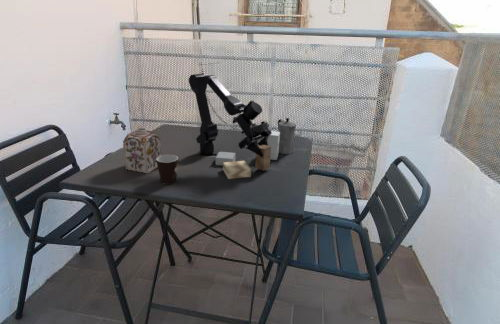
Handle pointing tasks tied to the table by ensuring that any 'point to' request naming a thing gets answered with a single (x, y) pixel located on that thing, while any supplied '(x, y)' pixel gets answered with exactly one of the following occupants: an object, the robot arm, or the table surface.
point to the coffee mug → (167, 168)
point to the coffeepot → (286, 136)
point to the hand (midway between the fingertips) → (265, 154)
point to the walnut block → (263, 158)
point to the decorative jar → (141, 150)
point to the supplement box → (274, 144)
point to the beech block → (236, 169)
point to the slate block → (225, 157)
